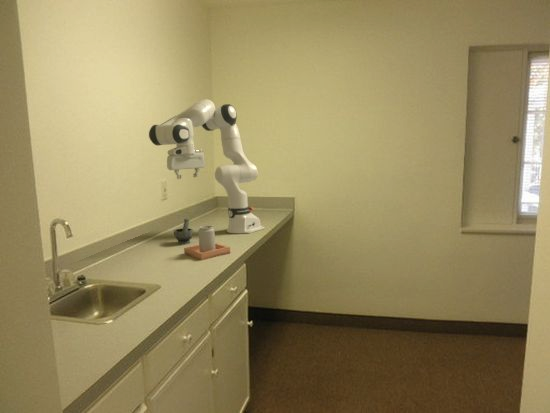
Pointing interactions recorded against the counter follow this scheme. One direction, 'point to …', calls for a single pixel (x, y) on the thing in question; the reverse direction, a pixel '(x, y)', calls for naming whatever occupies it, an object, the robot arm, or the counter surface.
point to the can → (206, 238)
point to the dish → (198, 254)
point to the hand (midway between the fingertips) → (187, 177)
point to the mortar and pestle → (184, 233)
